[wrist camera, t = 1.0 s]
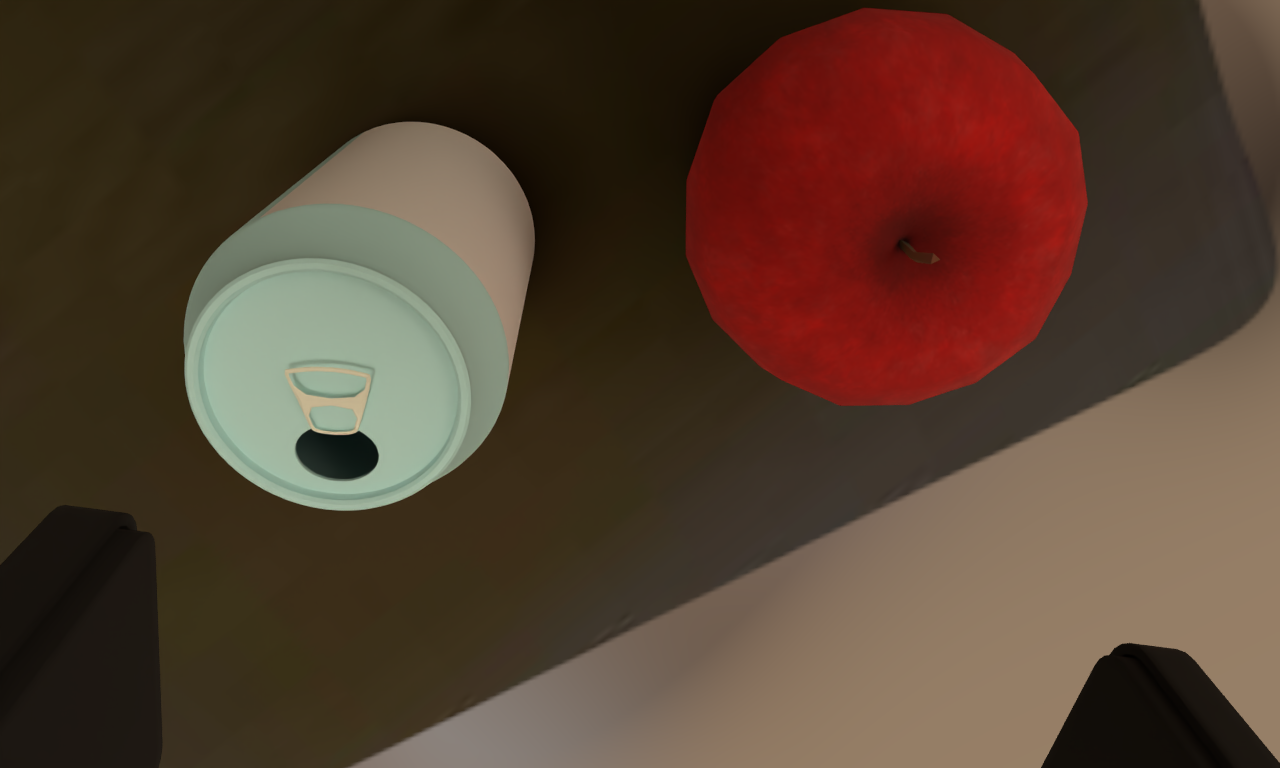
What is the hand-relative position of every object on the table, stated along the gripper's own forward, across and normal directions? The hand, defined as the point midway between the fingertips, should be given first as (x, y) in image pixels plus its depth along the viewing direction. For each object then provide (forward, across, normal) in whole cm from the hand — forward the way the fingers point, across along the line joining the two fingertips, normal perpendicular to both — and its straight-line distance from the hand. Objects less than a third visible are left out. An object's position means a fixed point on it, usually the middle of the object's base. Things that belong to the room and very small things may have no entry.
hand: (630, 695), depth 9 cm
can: (+22, +5, +3) cm, 23 cm away
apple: (+22, -6, -2) cm, 23 cm away
